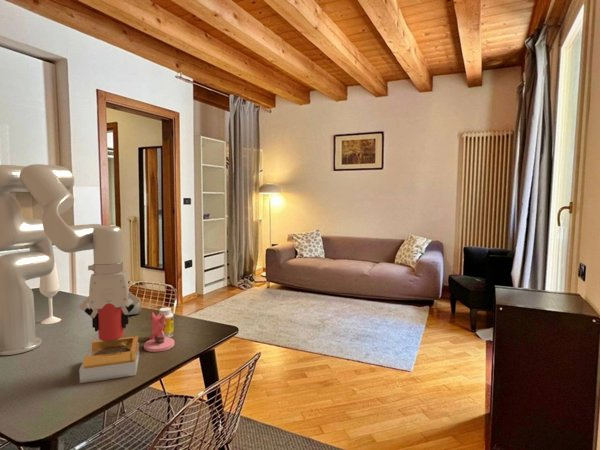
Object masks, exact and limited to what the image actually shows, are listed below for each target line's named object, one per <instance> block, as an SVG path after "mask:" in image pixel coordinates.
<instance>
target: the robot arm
mask: <svg viewBox="0 0 600 450" xmlns="http://www.w3.org/2000/svg"><path fill="white" fill-rule="evenodd" d="M74 185H75V177H74V175H73V173H72V171H71V170H70V169H68V168H67V167H64V166H61V165H55V164H53V165H52V164H42V163H41V164H40V163H39V164H37V163H35V164H29V165H25V166H24V165H14V164H0V250H16V249H17V250H18V249H23V248H28V249H29V250H28V251H19V252H13V253H6V254H2V255H0V356H12V355H19V354H22V353H26V352H29V351H32V350H34V349H35V350H36V349H37V348H38V347H40V346H41V345H42V338H41V337H38V336H37V335H36V334H37V333H36V318H35V315H36V314H35V300H34V299H35V298H34V291H33V290H32V289H31V286H29V285H28V284H27V283H26V281H28V280H34V279H37V278H39V279H40V277H43V276H46V275H49V274H50V273H51V272H52V271H53V269H54V261H55V254H54V248H53V245H54V246H55V248H57V249H58V250H60V251H61V252H64V253H68V254H71V253H79V252H82V251H84V252H85V251H90V250H92V251H93V255H92V256H93V263H92V264H91V265H88V266H87V270H88V271H92V272H93V273H91V274H90V277H89V278H90V279H89V290H88V293H89V295H88V296H87V297H86V298H85V299H84V300H82V301H81V302H80V303H79V304H78V308H80V310H82V311H84V313H85V314H87V315H88V316H89V317H90V318H91V319H92V328H93V329H94V332H98V310H99V309H102V308H103V306H104V305H105V304H108V303H110V304H113V305H114V306H115V307H116V308H121V309H122V311H123V315H122V323H123V328H124V329H126V327H127V325H129V323H130V321H129V320H130V319H129V315H128V313H129V312H130V311H131V310H132V309H133V308H134V307H135V306H136V305H137V304H138V303H139V301H140V299H141V298H140V297H139V298H140V299H139V298H137V297H138V296H136V295H134V294H133V293H132V292H131V291H130V287H129V279H128V276H127V272H126V271H125V270H124V251H123V248H124V246H123V231H122V228H121V227H120V226H117V225H104V224H99V223H91V224H89V223H88V224H77V225H68V224H67V222H65V221H64V220H63V218H62V217H61V215H62V214H65V213H66V212H68V210H69V209H71V208H72V207H73V205H74V202H75V197H74V196H73V193H71V192H70V191H71V189H73V187H74ZM11 193H30V194H31V196H32V197H33V198H34V199H35V201H36V202H37V203H38V204H39V206H41V208H42V209H43V213H42V218H41V219H38V218H26V219H25V218H24V215H23V209H22V206H21V203H20V202H19V200H17V198H16V197H15V196H14V195H12V194H11ZM129 298H130V299H131V300H132V301H133V302H132V304H130V305H129V306H127V305H128V302H129ZM107 301H110V302H107ZM87 304H88V305H87Z"/></svg>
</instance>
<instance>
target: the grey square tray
mask: <svg viewBox="0 0 600 450" xmlns="http://www.w3.org/2000/svg"><path fill="white" fill-rule="evenodd" d="M139 358H140V342H139V335H136V336H126V337H121V338H119V339H117V340H114V341H101V340H100V339H98V340H92V341H91V347H90V348H89V349H88V351H87V352H86V355H85V356H84V357H83V360H82V363H81V365H80V367H79V369H78V370H79V372H78V373H79V384H87V383H92V382H93V383H94V382H98V381H99V382H100V381H107V380H113V379H120V378H127V377H133V376H137V372H138V365H139Z"/></svg>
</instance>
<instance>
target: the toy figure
mask: <svg viewBox="0 0 600 450" xmlns="http://www.w3.org/2000/svg"><path fill="white" fill-rule="evenodd" d="M158 314H159V313H158ZM161 315H162V314H159V316H157V315H156V314H155V313H154V311H153V310H152V311H151V314H150V321H151V326H152V327H151V333H152V335H149V336H148V338H149V340H147V341H146V342H144V344H143V349H144V350H145V351H146V352H150V353H151V352H152V353H157V352H158V353H159V352H164V351H168V350H171V349H172V348H173V347H174V346H175V340H174V339H173V338H172V337H170V338H168V337H166V336H164V332H163V331H164V329H165V323H166V322H165V318H166V317H165V315H164V313H163V315H162V316H161ZM162 328H163V331H162Z"/></svg>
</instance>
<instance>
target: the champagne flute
mask: <svg viewBox="0 0 600 450" xmlns="http://www.w3.org/2000/svg"><path fill="white" fill-rule="evenodd" d="M60 286H61V285H60V280H59V274H58V267H57V262H56V260H54V269H53V271H52V272H51V273H50V274H49V275H46V276H43V277H39V292H40V294H41V295H43V296H44V297H46V298H48V317H46V318H45V319H43V320H42V321H41V322H40V324H42V325H50V324H56V323H59V322H61V321H62V318H59V317H57V316H54V313H53V310H54V309H53V297H54V296H56V295H57V294H58V292H59V291H60V289H61V287H60Z"/></svg>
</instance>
